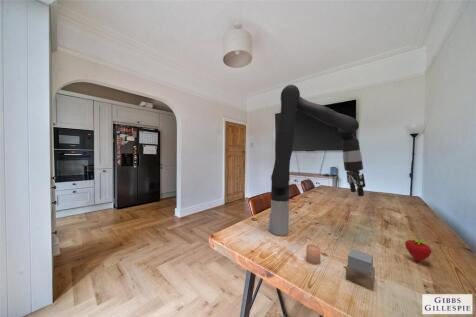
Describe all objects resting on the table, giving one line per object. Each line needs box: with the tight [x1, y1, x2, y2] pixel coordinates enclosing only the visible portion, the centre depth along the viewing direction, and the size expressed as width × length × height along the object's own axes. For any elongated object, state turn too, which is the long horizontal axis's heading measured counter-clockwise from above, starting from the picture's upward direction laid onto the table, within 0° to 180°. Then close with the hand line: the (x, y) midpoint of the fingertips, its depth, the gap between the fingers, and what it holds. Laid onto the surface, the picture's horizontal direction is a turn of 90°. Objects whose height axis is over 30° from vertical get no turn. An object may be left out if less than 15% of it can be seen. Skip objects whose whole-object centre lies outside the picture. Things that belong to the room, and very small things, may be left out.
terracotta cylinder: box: [305, 244, 322, 266], centre depth 68 cm, size 5×5×5 cm
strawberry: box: [404, 237, 432, 263], centre depth 68 cm, size 6×8×10 cm
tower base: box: [345, 264, 376, 291], centre depth 58 cm, size 7×7×4 cm
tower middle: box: [347, 248, 374, 276], centre depth 58 cm, size 6×6×4 cm
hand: (357, 193), depth 85 cm, fingers open, 8 cm apart
